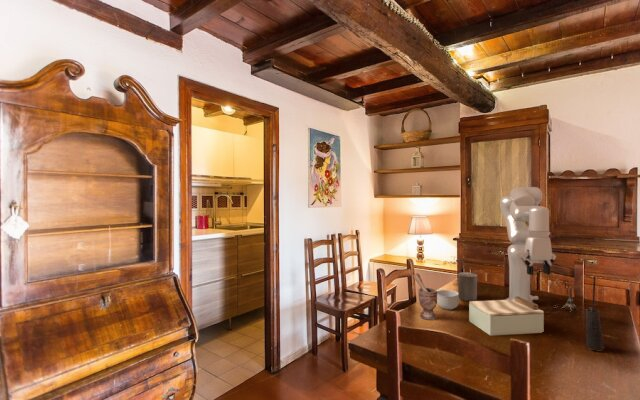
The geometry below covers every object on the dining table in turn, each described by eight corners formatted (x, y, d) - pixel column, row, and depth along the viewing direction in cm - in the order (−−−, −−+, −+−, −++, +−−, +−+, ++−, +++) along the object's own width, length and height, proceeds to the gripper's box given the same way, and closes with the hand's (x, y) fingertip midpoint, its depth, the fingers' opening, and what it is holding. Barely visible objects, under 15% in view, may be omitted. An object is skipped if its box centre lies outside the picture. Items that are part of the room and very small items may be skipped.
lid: (517, 301, 158) (517, 295, 158) (543, 313, 142) (543, 306, 142) (469, 303, 155) (469, 297, 155) (490, 315, 139) (490, 309, 139)
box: (517, 318, 158) (517, 301, 158) (543, 332, 142) (543, 313, 142) (469, 320, 156) (469, 303, 155) (490, 335, 140) (490, 316, 139)
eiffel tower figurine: (587, 309, 171) (587, 283, 171) (591, 316, 162) (591, 288, 162) (551, 304, 178) (551, 279, 178) (553, 310, 169) (554, 284, 169)
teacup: (462, 311, 168) (462, 295, 168) (440, 311, 168) (440, 295, 168) (451, 302, 182) (451, 287, 182) (431, 302, 182) (431, 287, 182)
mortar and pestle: (410, 317, 161) (410, 275, 160) (415, 311, 168) (414, 271, 168) (435, 321, 155) (435, 278, 154) (439, 315, 162) (439, 274, 162)
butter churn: (577, 340, 135) (578, 270, 134) (609, 347, 129) (610, 274, 128) (577, 348, 128) (577, 275, 127) (610, 356, 122) (611, 279, 121)
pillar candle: (459, 300, 185) (459, 273, 185) (457, 295, 194) (457, 269, 194) (478, 302, 182) (478, 274, 182) (475, 296, 191) (475, 270, 191)
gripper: (550, 233, 154) (549, 271, 155) (514, 234, 153) (514, 272, 153) (563, 235, 147) (563, 275, 147) (526, 236, 145) (526, 277, 145)
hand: (538, 274), depth 150 cm, fingers open, 7 cm apart
